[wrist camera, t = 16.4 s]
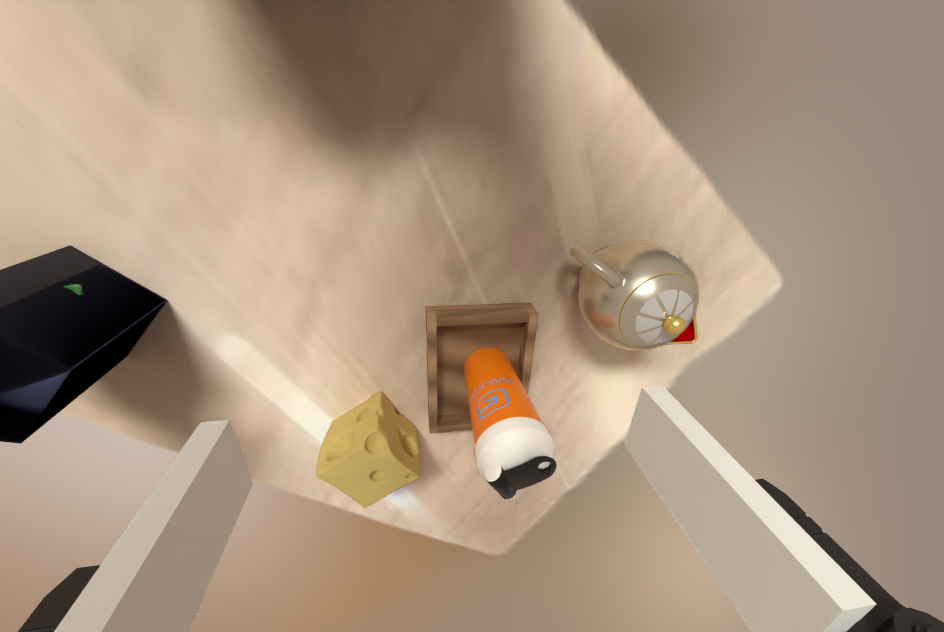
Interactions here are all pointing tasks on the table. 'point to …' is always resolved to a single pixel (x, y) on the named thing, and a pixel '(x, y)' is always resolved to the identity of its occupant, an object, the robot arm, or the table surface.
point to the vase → (62, 333)
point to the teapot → (638, 295)
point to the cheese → (370, 452)
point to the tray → (457, 339)
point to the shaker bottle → (505, 425)
